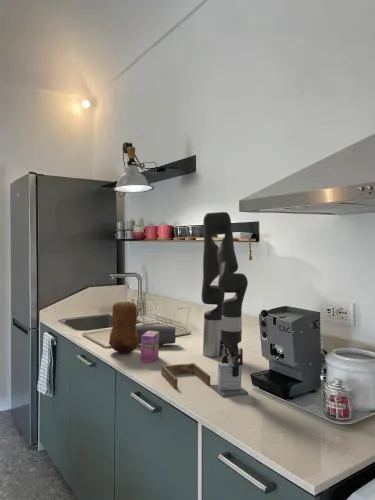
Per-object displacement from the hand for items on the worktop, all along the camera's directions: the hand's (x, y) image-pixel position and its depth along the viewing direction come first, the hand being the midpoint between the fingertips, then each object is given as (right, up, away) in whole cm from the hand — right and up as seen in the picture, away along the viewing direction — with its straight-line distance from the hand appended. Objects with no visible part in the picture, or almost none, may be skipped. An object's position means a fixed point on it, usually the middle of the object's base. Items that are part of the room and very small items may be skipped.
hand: (229, 372), depth 150 cm
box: (-33, -5, +37) cm, 50 cm away
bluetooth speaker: (-33, -5, +62) cm, 71 cm away
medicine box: (0, -6, 0) cm, 6 cm away
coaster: (0, -7, 0) cm, 7 cm away
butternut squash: (-46, -5, +47) cm, 66 cm away
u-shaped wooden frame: (-16, -6, +10) cm, 20 cm away
